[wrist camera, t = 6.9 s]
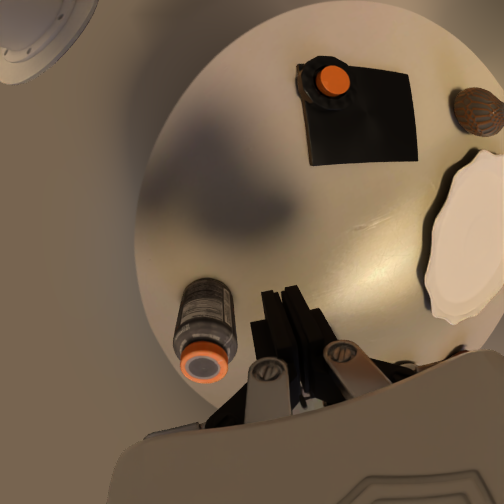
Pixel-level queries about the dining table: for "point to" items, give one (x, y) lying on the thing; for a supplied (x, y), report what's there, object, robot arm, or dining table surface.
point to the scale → (358, 116)
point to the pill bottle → (205, 331)
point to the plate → (468, 241)
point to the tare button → (332, 81)
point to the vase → (479, 112)
